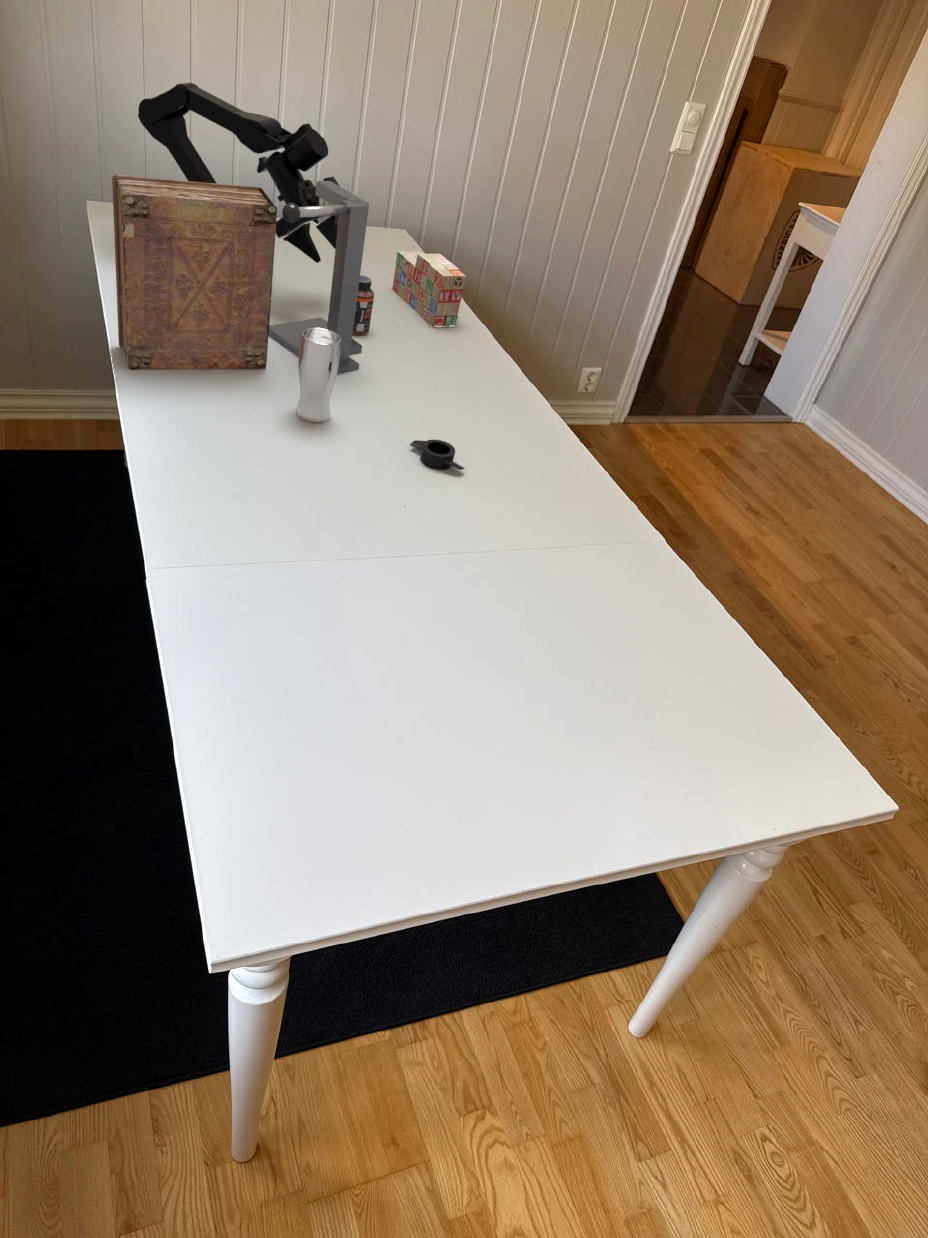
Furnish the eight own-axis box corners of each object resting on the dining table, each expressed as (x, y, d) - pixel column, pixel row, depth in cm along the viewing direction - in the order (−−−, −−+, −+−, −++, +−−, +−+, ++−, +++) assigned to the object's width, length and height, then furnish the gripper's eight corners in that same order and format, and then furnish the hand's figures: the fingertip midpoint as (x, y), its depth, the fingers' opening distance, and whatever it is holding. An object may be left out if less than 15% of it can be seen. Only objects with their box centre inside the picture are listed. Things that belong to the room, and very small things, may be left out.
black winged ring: (446, 446, 160) (449, 432, 158) (466, 477, 153) (469, 462, 152) (406, 447, 157) (409, 433, 155) (425, 478, 150) (428, 464, 148)
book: (127, 369, 157) (119, 193, 138) (118, 346, 163) (110, 173, 144) (266, 369, 168) (277, 205, 149) (254, 347, 174) (263, 187, 155)
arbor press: (222, 339, 173) (227, 168, 153) (320, 323, 188) (337, 166, 168) (281, 385, 164) (295, 210, 144) (379, 365, 179) (404, 203, 159)
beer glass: (315, 428, 155) (324, 348, 145) (285, 412, 157) (292, 332, 147) (340, 416, 160) (350, 338, 150) (310, 401, 162) (318, 323, 152)
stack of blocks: (391, 289, 212) (399, 237, 204) (413, 289, 215) (422, 238, 207) (432, 328, 199) (442, 274, 191) (455, 327, 202) (467, 274, 195)
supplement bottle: (367, 338, 188) (374, 286, 180) (339, 332, 187) (345, 280, 180) (370, 327, 192) (377, 276, 185) (343, 321, 192) (349, 270, 184)
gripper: (292, 169, 166) (335, 248, 171) (341, 156, 180) (379, 229, 185) (254, 198, 173) (296, 273, 178) (304, 183, 187) (341, 253, 192)
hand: (330, 256), depth 183 cm, fingers open, 9 cm apart
